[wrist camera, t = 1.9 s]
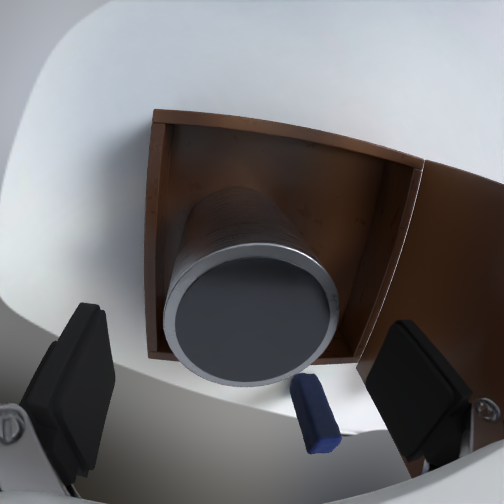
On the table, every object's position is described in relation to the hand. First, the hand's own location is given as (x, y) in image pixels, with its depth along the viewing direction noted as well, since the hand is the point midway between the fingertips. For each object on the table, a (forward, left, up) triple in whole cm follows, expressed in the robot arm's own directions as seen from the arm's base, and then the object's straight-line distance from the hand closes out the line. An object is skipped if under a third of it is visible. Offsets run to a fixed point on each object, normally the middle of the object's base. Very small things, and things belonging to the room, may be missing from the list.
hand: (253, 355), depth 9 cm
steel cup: (0, 0, -9) cm, 9 cm away
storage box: (0, +2, -10) cm, 10 cm away
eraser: (+12, +7, -10) cm, 17 cm away
